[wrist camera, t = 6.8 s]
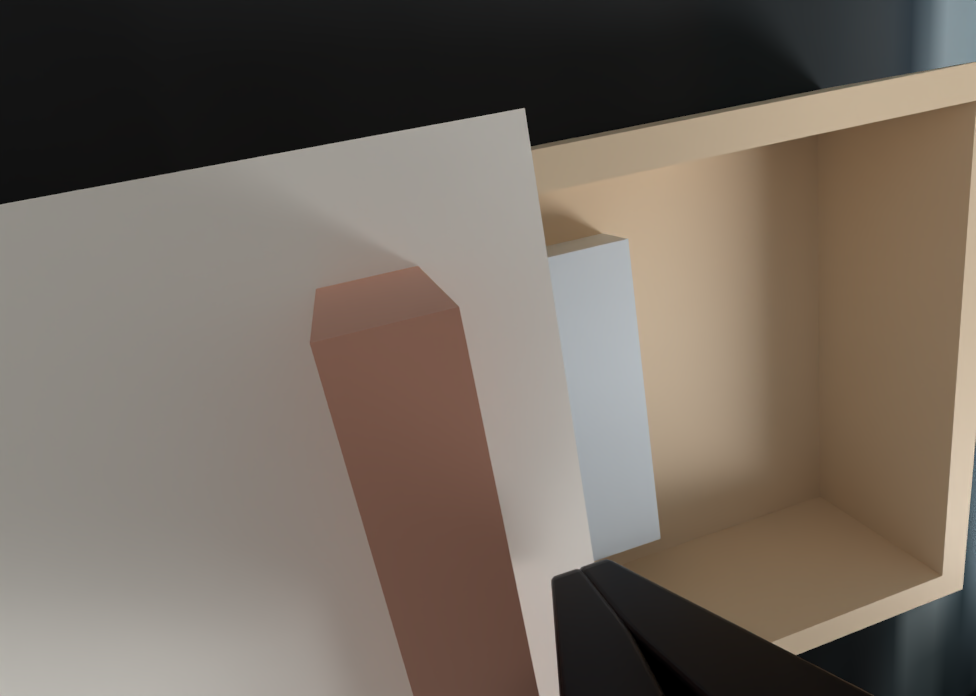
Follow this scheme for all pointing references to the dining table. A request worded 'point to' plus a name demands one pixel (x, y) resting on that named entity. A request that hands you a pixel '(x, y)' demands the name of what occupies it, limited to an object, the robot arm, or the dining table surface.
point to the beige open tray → (776, 348)
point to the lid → (288, 427)
